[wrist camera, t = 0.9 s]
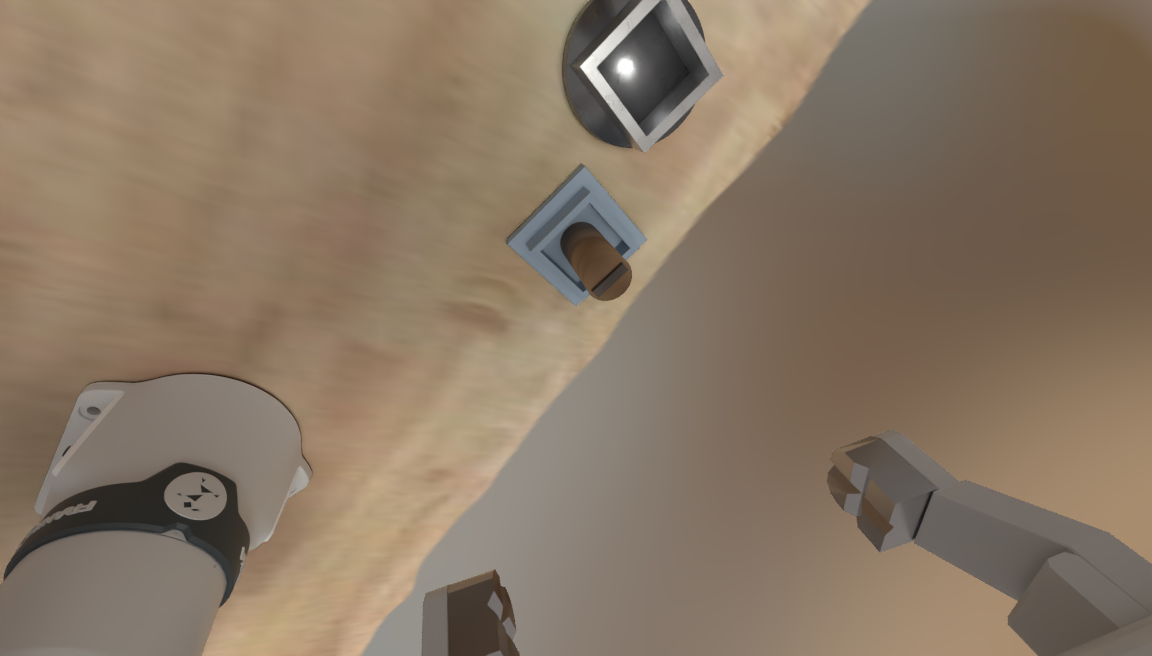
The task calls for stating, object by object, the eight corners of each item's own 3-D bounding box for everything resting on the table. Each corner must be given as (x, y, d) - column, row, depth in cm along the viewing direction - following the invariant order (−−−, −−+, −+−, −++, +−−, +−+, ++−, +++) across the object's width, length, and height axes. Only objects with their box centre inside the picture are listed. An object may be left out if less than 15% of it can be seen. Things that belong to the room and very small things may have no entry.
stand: (573, 301, 45) (581, 316, 42) (506, 240, 40) (511, 252, 38) (643, 235, 43) (656, 247, 41) (581, 164, 39) (592, 171, 36)
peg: (578, 268, 42) (607, 311, 35) (551, 242, 40) (576, 282, 33) (607, 240, 42) (642, 279, 35) (582, 213, 40) (614, 247, 33)
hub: (621, 173, 40) (640, 185, 36) (532, 62, 34) (544, 64, 30) (720, 74, 38) (752, 77, 34) (644, -60, 32) (672, -75, 28)
